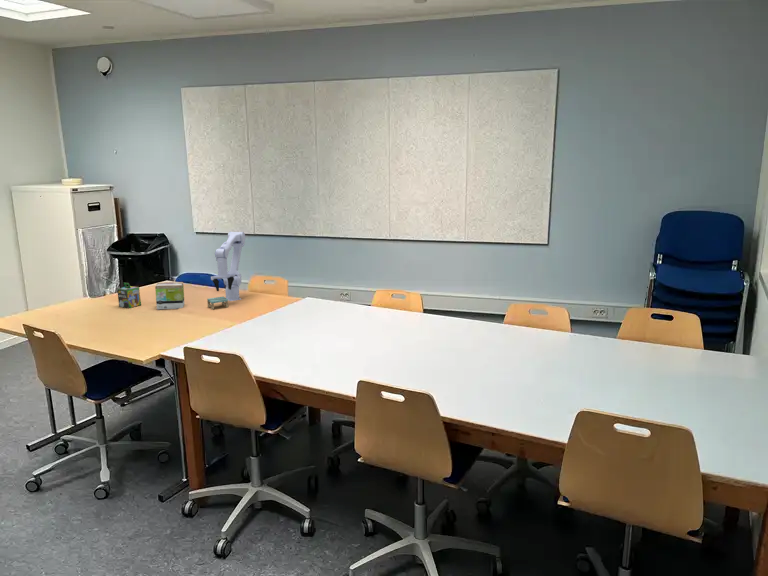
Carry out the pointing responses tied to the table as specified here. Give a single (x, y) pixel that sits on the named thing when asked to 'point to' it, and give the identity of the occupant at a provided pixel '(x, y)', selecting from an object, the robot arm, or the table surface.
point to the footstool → (217, 301)
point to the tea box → (169, 295)
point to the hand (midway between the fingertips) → (223, 290)
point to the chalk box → (128, 296)
